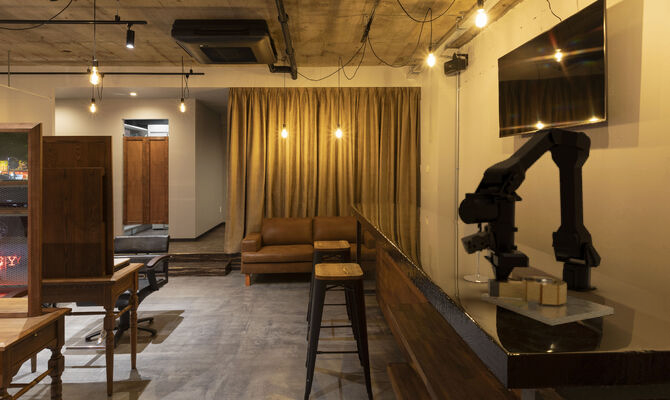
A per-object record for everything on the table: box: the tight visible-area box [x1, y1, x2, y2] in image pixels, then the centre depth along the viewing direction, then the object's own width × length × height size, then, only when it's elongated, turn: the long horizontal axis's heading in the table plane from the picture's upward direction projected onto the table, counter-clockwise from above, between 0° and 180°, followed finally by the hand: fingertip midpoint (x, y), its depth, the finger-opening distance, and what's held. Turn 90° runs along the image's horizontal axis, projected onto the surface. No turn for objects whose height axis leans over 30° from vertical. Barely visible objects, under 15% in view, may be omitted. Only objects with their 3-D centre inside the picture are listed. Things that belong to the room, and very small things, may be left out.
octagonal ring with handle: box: [487, 275, 568, 305], centre depth 83 cm, size 8×15×5 cm, turn 77°
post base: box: [480, 276, 615, 326], centre depth 83 cm, size 18×18×6 cm
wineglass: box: [463, 223, 492, 284], centre depth 106 cm, size 8×8×20 cm
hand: (499, 288), depth 87 cm, fingers closed
